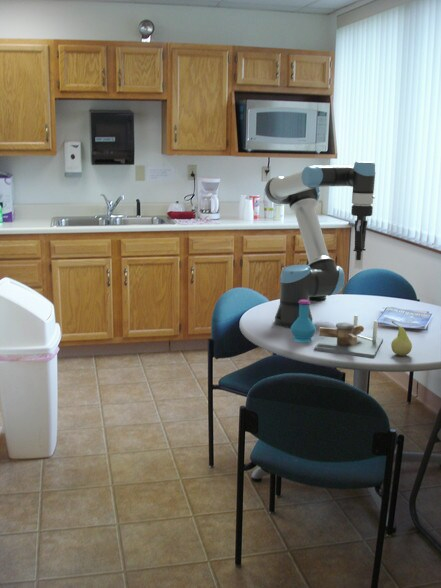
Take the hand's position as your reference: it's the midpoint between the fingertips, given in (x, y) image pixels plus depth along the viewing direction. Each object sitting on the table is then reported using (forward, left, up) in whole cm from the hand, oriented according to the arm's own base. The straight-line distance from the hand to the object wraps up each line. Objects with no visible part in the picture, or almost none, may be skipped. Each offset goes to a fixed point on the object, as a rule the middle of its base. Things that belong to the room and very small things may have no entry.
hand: (358, 268), depth 252 cm
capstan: (0, -12, -25) cm, 28 cm away
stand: (0, -12, -26) cm, 29 cm away
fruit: (+19, -16, -27) cm, 36 cm away
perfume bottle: (-17, -12, -27) cm, 34 cm away
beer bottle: (-28, +53, -27) cm, 66 cm away
